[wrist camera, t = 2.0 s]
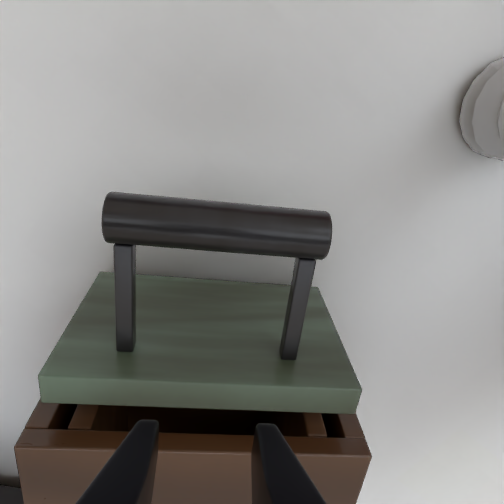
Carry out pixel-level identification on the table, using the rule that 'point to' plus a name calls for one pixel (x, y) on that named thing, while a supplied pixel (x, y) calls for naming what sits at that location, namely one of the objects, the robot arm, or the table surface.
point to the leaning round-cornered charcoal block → (10, 495)
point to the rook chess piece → (485, 112)
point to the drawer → (203, 328)
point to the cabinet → (181, 461)
